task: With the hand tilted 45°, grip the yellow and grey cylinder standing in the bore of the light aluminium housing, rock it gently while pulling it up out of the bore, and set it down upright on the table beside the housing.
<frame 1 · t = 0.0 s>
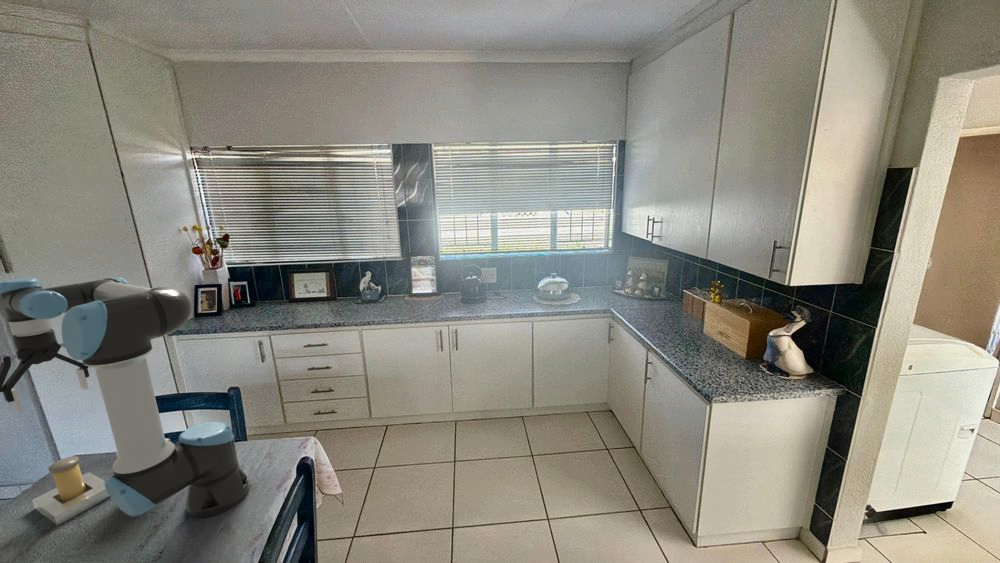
hand: (53, 398, 114), 28 cm above the table, tool pointing down, fingers open, 13 cm apart
housing: (75, 501, 112), on the table
yellow and grey cylinder: (69, 482, 110), in the housing
supplement box: (154, 489, 117), on the table
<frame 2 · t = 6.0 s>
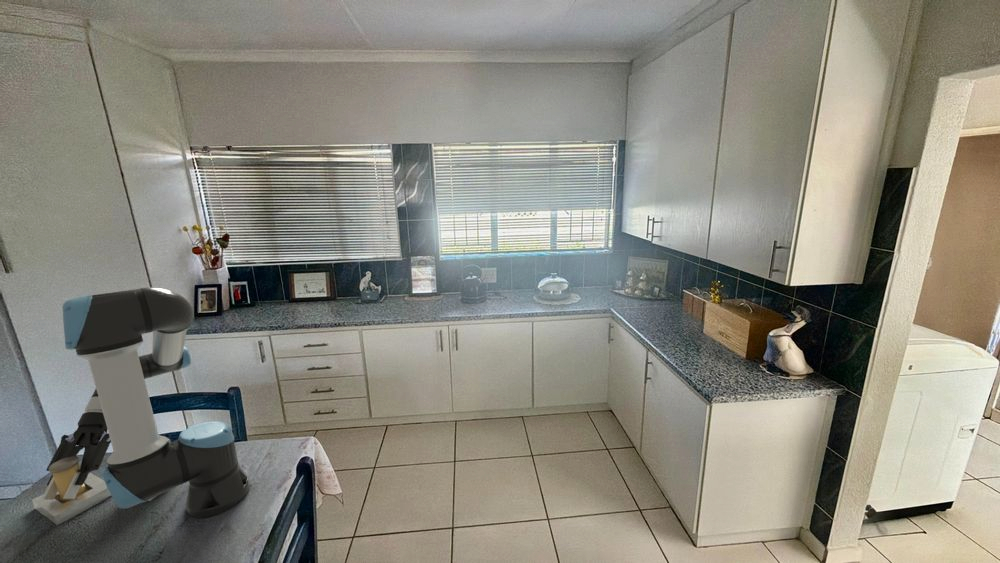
hand: (58, 498, 107), 4 cm above the table, tool tilted 45°, fingers closed on yellow and grey cylinder, 5 cm apart
yellow and grey cylinder: (69, 482, 110), in the housing, touching gripper
everything else where it was.
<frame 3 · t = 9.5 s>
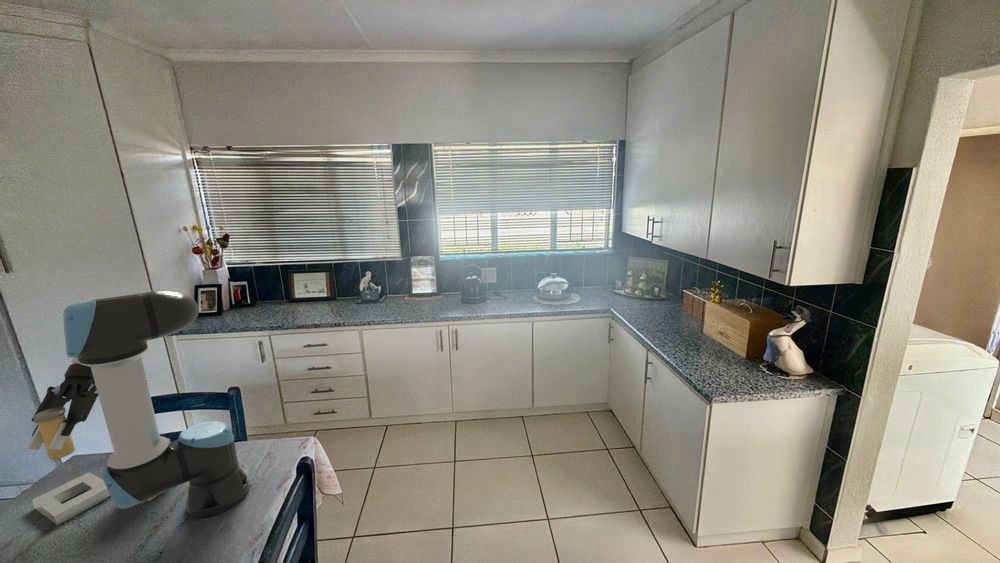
hand: (43, 449, 104), 20 cm above the table, tool tilted 45°, fingers closed on yellow and grey cylinder, 5 cm apart
yellow and grey cylinder: (55, 433, 107), point 22 cm above the table, touching gripper
everything else where it was.
when the fingers open (6 cm above the table, at t = 13.4 s): yellow and grey cylinder drops 1 cm, on the table.
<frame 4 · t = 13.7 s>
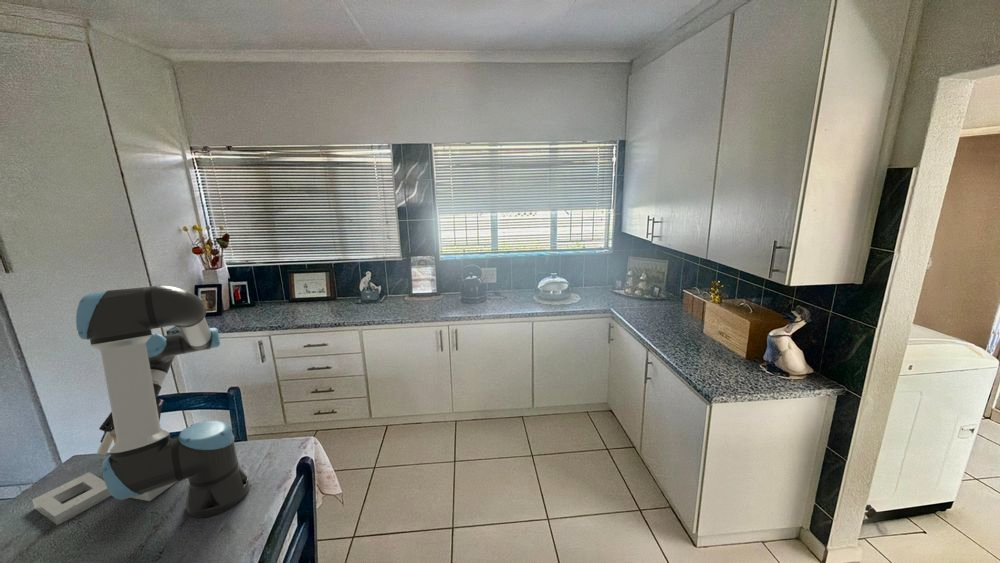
hand: (118, 453, 123), 6 cm above the table, tool tilted 45°, fingers open, 9 cm apart
yellow and grey cylinder: (126, 446, 126), on the table
everything else where it was.
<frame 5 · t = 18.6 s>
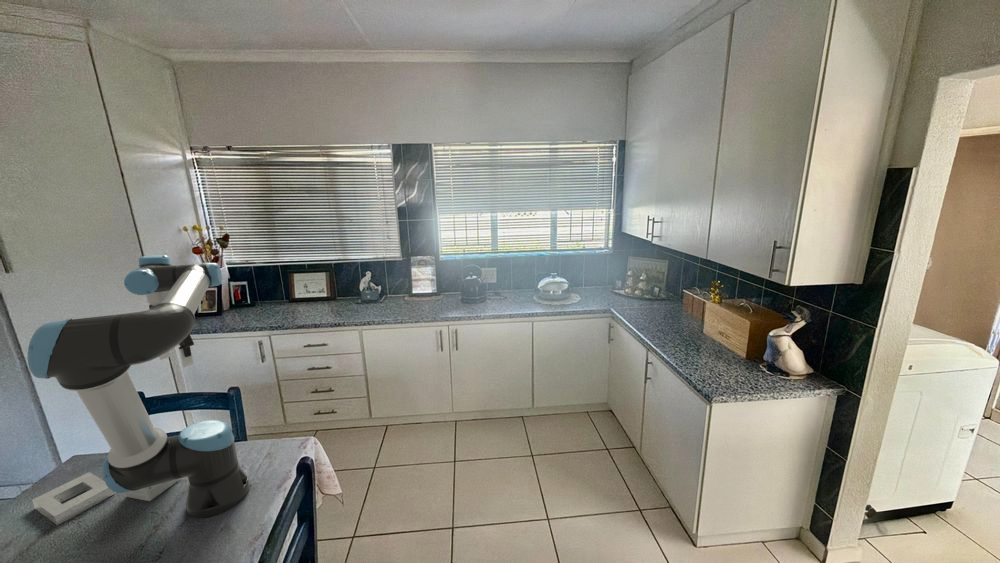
hand: (176, 361, 130), 32 cm above the table, tool pointing down, fingers open, 13 cm apart
nothing on the table moved.
at the end: yellow and grey cylinder inside the target area (0.1 cm from its centre), on the table; yellow and grey cylinder tilted 0°; yellow and grey cylinder touching table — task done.
